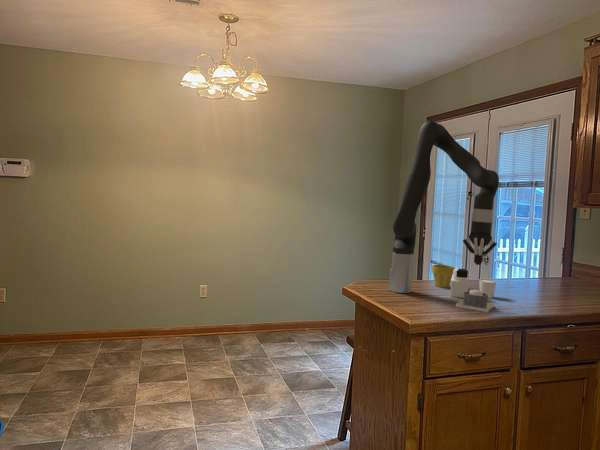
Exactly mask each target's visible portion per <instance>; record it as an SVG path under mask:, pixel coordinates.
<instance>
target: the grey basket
mask: <svg viewBox="0 0 600 450" xmlns="http://www.w3.org/2000/svg"><path fill="white" fill-rule="evenodd" d="M469 292H470V290H468V291H467V292H464V298H462V299H461V300H459V301H457V302H456V303H455V307H456V308H461V309H465V310H472V311H477V312H482V313H484V312H485V313H489V312H490V311H491V310H492V309H493V308H494V307H495V303H492V302H488V299H489V298H488V295H487V294H485V293H483V296H476V295H470V294H469Z"/></svg>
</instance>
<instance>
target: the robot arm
mask: <svg viewBox="0 0 600 450" xmlns="http://www.w3.org/2000/svg"><path fill="white" fill-rule="evenodd" d="M417 135H418V136H417V140H416V146H415V152H414V154H413V155H414V156H413V157H412V158H413V159H412V162H411V166H410V169H409V173H408V176H407V178H406V179H407V180H406V182H405V186H404V191H403V195H402V200H401V204H400V207H399V210H398V212H397V214H396V218H395V220H394V222H393V224H392V225H393V226H392V231H393V233H394V243H393V246H392V258H391V268H390V269H389V274H388V275H389V276H388V291H390V292H393V293H399V294H410V293H411V292H412V285H413V270H414V253H415V249H416V248H415V246H416V239H417V237H416V236H417V223H416V218H417V217H416V216H417V213H418V210H419V207H420V205H421V204H422V201H423V199H424V197H425V195H426V193H427V190H428V187H429V184H430V181H431V175H432V170H431V169H432V168H431V153H432V150H433V148H434V147H433V146H435V147H436V148H438V149H439V150H441V151H443V152H444V153H445V154H446V155H448V157H449V158H450V160H451V161H452V162H453V163H454V164H455V165H456V166H457V168H459V169H460V170H461V171H463V173H465V174H466V176H467V178H468V179H469V180H470V182H471V183H473V185H475V186H476V187H479V188H480V190H479V193H477V194H476V195H475V196H474V200H473V209H472V215H471V224H470V233H469V235H468V237H466V238H464V239H463V240H462V242H463V243H464V245H465V246H466V247H465V248H467V250H468V251H469V253H470V254H473V255H474V256H473V257H474V258H473V259H474V260H473V263H475V264H474V265H476V266H477V265H478V266H481V264H482V263H483V257H484V255H488V254H489V253H491V251H492V250H493V249H494V248H495V247H496V246H497V245H498V243H497V242H496V241H494V240H493V236H492V229H493V217H494V213H493V210H494V198H495V197H496V194H497V190H498V187H499V183H500V178H499V175H498V173H497V172H496V171H495V170H491V169H487V168H485V167H483V166H482V165H481V162H480V160H479V159H478V158H477V157H476V156H474V155H473V154H472V153H471V152H470V151H468V150H467V149H466V148H465V147H464V146H462V145H461V144H460V143H459V142H458V141H457V140H456V139H455V138H454V137H453V136H452V135H451V133H449V131H448V130H447V129H446V127H445V126H444V125H442V124H440V123H438V122H437V121H433V120H427V121H425V122H424V123H423V124H422V125H421V127H420V129H419V132H418V134H417ZM471 244H472V245H473V246H472V245H471ZM488 244H489V246H488V248H486V250H485V247H486V246H487V245H488Z"/></svg>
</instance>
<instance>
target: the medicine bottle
mask: <svg viewBox="0 0 600 450" xmlns="http://www.w3.org/2000/svg"><path fill="white" fill-rule="evenodd" d="M468 274H469V271H468V270H467V269H466V268H454V270H453V275H452V278H451V282H450V290H449V291H450V294H449V295H450V297H451V298H459V299H461V298H462V299H464V292H467V291H469V286H470V285H469V283H470V282H469V279H468V276H469V275H468Z"/></svg>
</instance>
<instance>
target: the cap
mask: <svg viewBox="0 0 600 450" xmlns="http://www.w3.org/2000/svg"><path fill="white" fill-rule="evenodd" d="M469 291H470V292H469V294H470V295H476V296H483V292H482V291H480V289H479V290H478V289H469Z"/></svg>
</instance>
